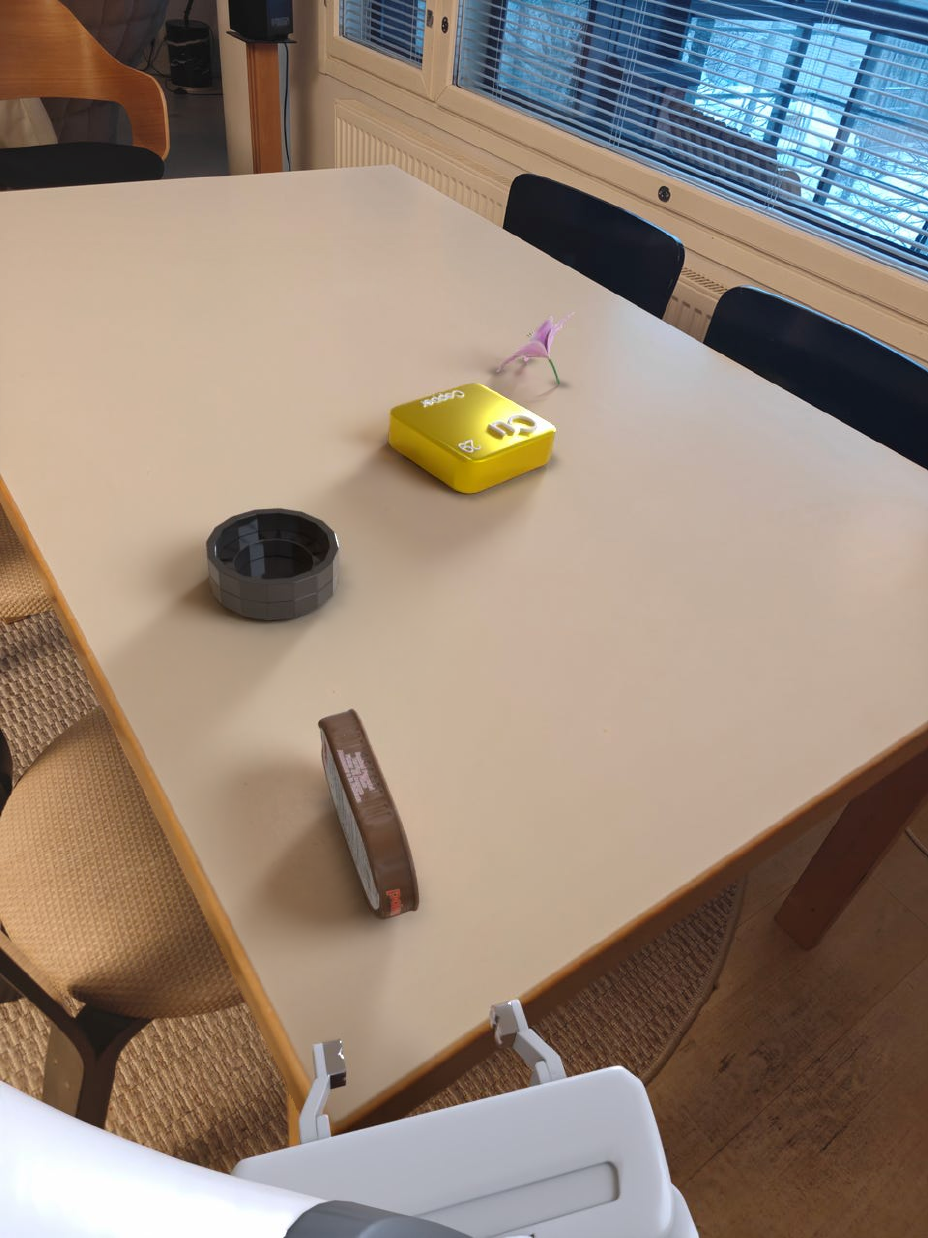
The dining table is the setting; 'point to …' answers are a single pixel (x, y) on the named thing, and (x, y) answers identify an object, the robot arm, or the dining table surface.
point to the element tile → (470, 437)
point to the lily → (539, 343)
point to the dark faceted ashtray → (273, 563)
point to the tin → (368, 817)
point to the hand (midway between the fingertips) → (417, 1025)
